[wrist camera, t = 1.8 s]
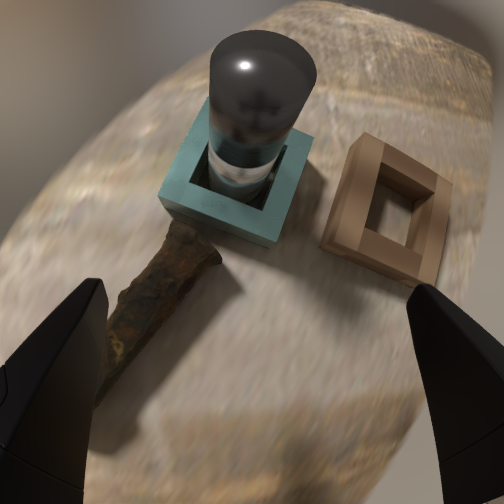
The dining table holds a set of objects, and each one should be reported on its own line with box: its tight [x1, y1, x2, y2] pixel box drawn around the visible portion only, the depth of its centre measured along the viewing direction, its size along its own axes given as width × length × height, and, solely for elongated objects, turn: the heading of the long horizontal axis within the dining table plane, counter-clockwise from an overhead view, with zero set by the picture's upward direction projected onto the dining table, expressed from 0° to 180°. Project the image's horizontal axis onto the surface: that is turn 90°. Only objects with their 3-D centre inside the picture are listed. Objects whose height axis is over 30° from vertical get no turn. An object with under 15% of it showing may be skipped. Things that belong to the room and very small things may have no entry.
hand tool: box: [93, 219, 222, 411], centre depth 19 cm, size 19×4×5 cm, turn 140°
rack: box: [319, 132, 453, 288], centre depth 23 cm, size 9×9×3 cm
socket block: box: [157, 97, 314, 248], centre depth 22 cm, size 8×8×3 cm
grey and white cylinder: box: [209, 30, 317, 203], centre depth 17 cm, size 4×4×13 cm
